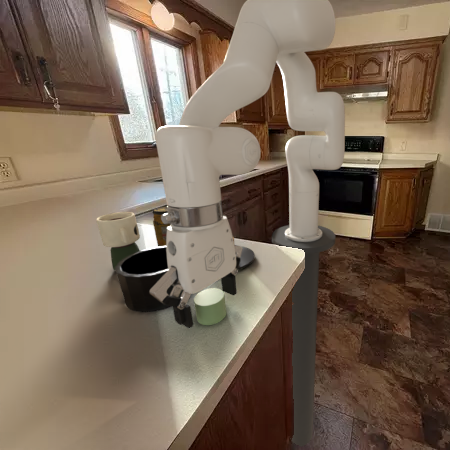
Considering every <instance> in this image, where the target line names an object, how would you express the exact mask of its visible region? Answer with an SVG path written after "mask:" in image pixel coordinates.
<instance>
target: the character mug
mask: <svg viewBox="0 0 450 450" xmlns="http://www.w3.org/2000/svg"><path fill="white" fill-rule="evenodd" d="M96 225H97V228H98V231H99V234H100V238H101V241H102V244H103V246H104V247H105V248H110V260H111V267H112V269H113V271H116V269H115V267H116V265H117V264H118V263H119V261H121V260H122V259H124V258H125V257H127V256H129V255H131V254H134V253H136V252H139V251H141V250H140V247H139V246H138V244H137V243H136V242H137V241H138V240H140V238H141V237H140V236H141V235H140V230H139V227H138V222H137V219H136V215H135V212H132V211H131V212H130V211H120V212H111V213H107V214H103V215H100V216H98V217H96Z"/></svg>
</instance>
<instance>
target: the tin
mask: <svg viewBox="0 0 450 450" xmlns="http://www.w3.org/2000/svg"><path fill="white" fill-rule="evenodd" d="M115 269H116V270H115V273H116V276H117V279H118V283H119V287H120V290H121V294H122V297H123V300H124V304H125V306H126V307H127V309H129V310H130V311H132V312H135V313H154V312H159V311H163V310H167V309H169V308H173V307H172V306H167V305H165V304H163V303H161V302H159V301H158V300H157V299H156V298H155V297H153V296H152V295H151V294H150V292H149V291H150V289H151V288H152V287H153V286H154V285H155V284H156V283H157V282H158V281H159V280H160V279H161V278H162V276H163V275H164V274H165V273H166V272H167V271H168V264H167V251H166V246H160V247H158V246H153V247H149V248H146V249H141V250H140V251H139V252H136V253H134V254H131V255H129V256H127V257H125V258H124V259H122V260H121V261H119V263H118V264H117V265H116V267H115ZM173 287H174V286H173V285H171V286H170V287H169V288H168V289H167V294H168V295H170V294H171V292H172V289H173ZM182 293H183V290H181V292H180V294H179V297H178V298H180V297H181V295H182Z"/></svg>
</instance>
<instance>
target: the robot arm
mask: <svg viewBox="0 0 450 450" xmlns="http://www.w3.org/2000/svg"><path fill="white" fill-rule="evenodd" d="M335 34H336V15H335V11H334V8H333V5H332V3H331V2H330V0H245V1H244V3H243V4H242V6H241V8H240V11H239V13H238V17H237V20H236V23H235V26H234V29H233V32H232V36H231V39H230V41H229V44H228V48H227V49H226V53H225V57H224V59H223V61H222V64H221V65H219V67H218V68H217V69H216V70H215V71H214V72H213V73H211V75H210V76H208V78H207V79H206V80H205V81H204V82H203V83H202V84H201V85H200V86H199V87H198V88H197V90H196V91H194V93H193V94H192V95H191V97H190V98H189V99H188V101H187V103H186V105H185V107H184V109H183V111H182V115H181V118H180V120H179V123H178V125H164V126H160V127H159V128H158V129H157V130H156V132H155V145H156V150H157V156H158V161H159V162H158V163H159V169H160V173H161V178H162V183H163V190H164V194H165V196H164V197H165V201H166V207H167V213H166V214H164V215H161V220H162V222H163V223H164V224H168V223H170V224H171V226H169V227H167V237H166V251H167V264H168V271H167V272H166V273H165V274H164V275H163V276H162V278H161V279H160V280H159V281H158V282H157V283H156V284H155V285H154V286H153V287H152V288H151V289H150V291H149V292H150V294H151V295H152V296H153V297H155V298H156V299H157V300H158V301H159V302H161V303H163V304H165V305H167V306H172V307H171V308H172V311H173V316H174V321H175V322H176V323H177V324H178V325H179V326H181V325H182V326H184V327H186V328H188V329H191V328H192V327H193V326H194V318H193V313H192V308H191V305H190V304H188V302H189V300H190V298H191V295H194V294H198V293H199V292H201V291H203V290H206V289H208V288H209V287H210V286H212V285H214V284H215V283H216V282H218V281H219V280H220V281H221V282H220V283H221V290H222V291H223V292H224V293H226V294H228V295H231V296H236V295H237V293H238V291H237V279H236V276H237V274H238V272H239V270H238V269H237V267H238V265H239V263H240V260H241V259H240V257H241V253H242V249H243V248H242V247H243V246H242V247H241V245H237V244H235V240H234V241H233V237H234V235H233V231H232V228H231V225H230V222H229V220H228V217H227V216H226V215H224V213H223V211H224V210H223V201H222V191H221V182H220V177H221V176H230V175H231V176H240V175H246V174H248V173H250V172H252V171H253V170H255V168H256V167H257V166H258V164H259V162H260V161H261V160H260V159H261V153H262V152H261V151H262V150H261V146H260V142H259V140H258V138H257V137H256V136H255V134H253V133H252V132H250V130H248V129H246V128H242V127H238V126H220V125H221V124H222V123H223V122H224V120H226V119H227V118H228V117H229V116H230V115H232V114H233V113H234V112H236V111H238V110H241V109H242V108H245V107H246V106H249V105H250V104H252V103H254V102H256V101H257V100H259V99H261V98H262V97H264V95H265V94H266V93H267V92H268V91H269V89H270V86H271V82H272V79H273V76H274V75H273V74H274V72H275V67H276V65H277V66H278V68H279V71H280V73H281V76H282V83H283V91H284V101H285V111H286V118H287V119H286V120H287V123H288V126H289V127H290V128H291V130H294V131H296V132H298V131H299V132H323V133H325V135H314V134H312V135H311V134H306V135H305V134H302V135H295V136H292V137H291V138H290V139H288V140H287V142H286V144H285V147H284V149H285V150H284V151H285V152H284V153H285V159H286V165H287V172H288V205H289V206H288V212H289V214H288V215H289V217H288V218H289V219H288V220H289V221H288V223H289V224H288V225H290V228H288V229H287V230H286V231H285V236H286V237H287V238H288V239H290V240H293V241H297V242H311V241H315V240H318V239H320V238H321V237H322V231H321V230H320V229H319V228H318V226H319V207H320V206H319V205H320V204H319V203H320V202H319V201H320V182H319V179H318V176H317V175H316V173H315V172H314V170H322V171H324V170H325V171H335V170H339V169H340V168H341V167H342V166H343V164H344V160H345V148H346V147H345V146H346V145H345V143H346V141H345V140H346V107H345V102H344V98H343V97H342V95H341V94H340V93H338V92H336V91H319V92H318V90H317V76H316V75H317V73H316V68H315V65H314V63H313V62H312V61H311V59H310V57H309V56H308V55H307V54H306V52H315V51H322V50H327V48H328V47H330V45H331V44H332V42H333V41H334V38H335ZM234 244H235V245H234ZM171 285H173V286H174V287H173V289H172V292H171V294H170V295H168V294H167V289H168V288H169V287H170V286H171ZM181 290H183V293H182V295H181V297H180V298H178V297H179V294H180V292H181Z"/></svg>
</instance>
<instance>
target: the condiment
mask: <svg viewBox="0 0 450 450" xmlns="http://www.w3.org/2000/svg"><path fill="white" fill-rule="evenodd" d="M166 213H167V206H161V207H155V208H154V209H152V214H153V220H152V224H153V229H154V234H155V239H156V245H157V247H160V246H166V237H167V227H169V226H171V224H170V223H168V224H164V223H163V222H162V220H161V215H164V214H166Z"/></svg>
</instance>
